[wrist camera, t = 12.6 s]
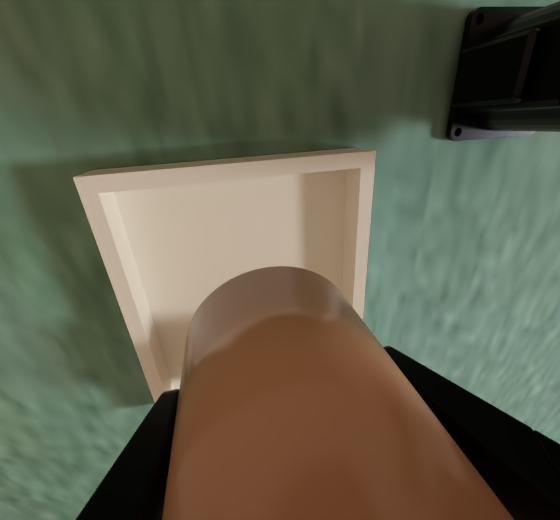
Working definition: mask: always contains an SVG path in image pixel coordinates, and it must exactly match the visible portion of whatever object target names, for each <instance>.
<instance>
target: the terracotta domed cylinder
mask: <svg viewBox="0 0 560 520" xmlns="http://www.w3.org/2000/svg"><path fill="white" fill-rule="evenodd" d="M162 520H514V519H513V517H512V516H511V515H510V513H509V512H508V511H507V509H506V508H505V507H504V505H503V504H502V503H501V501H500V500H499V499H498V498H497V496H496V495H495V494H494V492H493V491H492V490H491V488H490V487H489V486H488V484H487V483H486V482H485V480H484V479H483V478H482V477H481V475H480V474H479V473H478V471H477V470H476V469H475V467H474V466H473V465H472V463H471V462H470V461H469V459H468V458H467V457H466V456H465V454H464V453H463V452H462V450H461V449H460V448H459V446H458V445H457V444H456V442H455V441H454V440H453V438H452V437H451V436H450V434H449V433H448V432H447V431H446V429H445V428H444V427H443V425H442V424H441V423H440V421H439V420H438V419H437V417H436V416H435V415H434V413H433V412H432V411H431V410H430V408H429V407H428V406H427V404H426V403H425V402H424V400H423V399H422V398H421V396H420V395H419V394H418V392H417V391H416V390H415V389H414V387H413V386H412V385H411V383H410V382H409V381H408V379H407V378H406V377H405V375H404V374H403V373H402V371H401V370H400V369H399V367H398V366H397V365H396V364H395V362H394V361H393V360H392V358H391V357H390V356H389V354H388V353H387V352H386V350H385V349H384V348H383V346H382V345H381V344H380V343H379V341H378V340H377V339H376V337H375V336H374V335H373V333H372V332H371V331H370V329H369V328H368V327H367V325H366V324H365V323H364V322H363V320H362V319H361V318H360V316H359V315H358V314H357V312H356V311H355V310H354V308H353V307H352V306H351V304H350V303H349V302H348V300H347V299H346V298H345V297H344V295H343V294H342V293H341V291H340V290H339V289H338V288H337V287H336V286H335V285H334V284H333V283H332V282H331V281H329V280H328V279H326V278H325V277H323V276H321V275H319V274H317V273H315V272H313V271H309V270H306V269H303V268H297V267H291V266H274V267H265V268H260V269H255V270H252V271H249V272H246V273H243V274H241V275H238V276H236V277H234V278H232V279H230V280H229V281H227V282H225V283H224V284H222V285H220V286H219V287H218V288H217V289H215V290H214V291H213V292H212V293H211V294H210V295H209V296H208V297H207V298H206V299H205V300H204V301H203V302H202V303H201V305H200V306H199V307H198V309H197V310H196V312H195V314H194V316H193V318H192V319H191V322H190V325H189V328H188V331H187V337H186V344H185V351H184V359H183V366H182V374H181V381H180V389H179V396H178V403H177V411H176V418H175V426H174V433H173V441H172V448H171V455H170V463H169V470H168V478H167V485H166V493H165V500H164V507H163V515H162Z"/></svg>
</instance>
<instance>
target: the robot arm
mask: <svg viewBox="0 0 560 520" xmlns="http://www.w3.org/2000/svg"><path fill="white" fill-rule="evenodd" d="M476 16H477V18H478V22H477V24H476V22H475V19H476ZM456 129H457V133H456V135H454V132H455V130H456ZM536 131H555V132H560V1H559V2H557V3H554V4H551V5H548V6H546V7H480V8H477V9H475V10H473V11H471V12H470V13H469V15H468V16H467V18H466V22H465V28H464V33H463V39H462V45H461V51H460V56H459V62H458V68H457V74H456V79H455V85H454V91H453V97H452V102H451V108H450V114H449V120H448V125H447V131H446V137H447V139H448V140H451V141H461V140H472V139H484V138H496V137H507V136H519V135H531V134H533V133H535V132H536ZM383 348H384V349H385V350H386V352H387V353H388V354H389V356H390V357H391V358H392V360H393V361H394V362H395V364H396V365H397V366H398V367H399V369H400V370H401V371H402V373H403V374H404V375H405V377H406V378H407V379H408V381H409V382H410V383H411V385H412V386H413V387H414V389H415V390H416V391H417V392H418V394H419V395H420V396H421V398H422V399H423V400H424V402H425V403H426V404H427V406H428V407H429V408H430V410H431V411H432V412H433V413H434V415H435V416H436V417H437V419H438V420H439V421H440V423H441V424H442V425H443V427H444V428H445V429H446V431H447V432H448V433H449V434H450V436H451V437H452V438H453V440H454V441H455V442H456V444H457V445H458V446H459V448H460V449H461V450H462V452H463V453H464V454H465V456H466V457H467V458H468V459H469V461H470V462H471V463H472V465H473V466H474V467H475V469H476V470H477V471H478V473H479V474H480V475H481V477H482V478H483V479H484V480H485V482H486V483H487V484H488V486H489V487H490V488H491V490H492V491H493V492H494V494H495V495H496V496H497V498H498V499H499V500H500V501H501V503H502V504H503V505H504V507H505V508H506V509H507V511H508V512H509V513H510V515H511V516H512V517H513V519H514V520H560V444H559V443H557V442H555V441H553V440H552V439H550V438H548V437H546V436H545V435H543V434H541V433H540V432H538V431H536V430H534V431H533V430H532V428H531V427H529V426H527V425H526V424H524V423H522V422H520V421H519V420H517V419H515V418H513V417H512V416H510V415H508V414H507V413H505V412H503V411H501V410H500V409H498V408H496V407H494V406H493V405H491V404H489V403H488V402H486V401H484V400H482V399H481V398H479V397H477V396H475V395H474V394H472V393H470V392H469V391H467V390H465V389H463V388H462V387H460V386H458V385H456V384H455V383H453V382H451V381H450V380H448V379H446V378H444V377H443V376H441V375H439V374H437V373H436V372H434V371H432V370H431V369H429V368H427V367H425V366H424V365H422V364H420V363H418V362H417V361H415V360H413V359H412V358H410V357H408V356H406V355H405V354H403V353H401V352H399V351H398V350H396V349H394V348H392V347H390V346H385V347H383ZM178 396H179V389H174V390H169V391H165V392H163V393H162V394H161V395H160V397H159V398H158V399H157V401H156V402H155V404H154V405H153V407H152V408H151V410H150V411H149V413H148V414H147V416H146V417H145V419H144V420H143V422H142V423H141V424H140V426H139V427H138V429H137V430H136V432H135V433H134V435H133V436H132V438H131V439H130V441H129V442H128V444H127V445H126V446H125V448H124V449H123V451H122V452H121V454H120V455H119V457H118V458H117V460H116V461H115V463H114V464H113V466H112V467H111V469H110V470H109V471H108V473H107V474H106V476H105V477H104V479H103V480H102V482H101V483H100V485H99V486H98V488H97V489H96V491H95V492H94V493H93V495H92V496H91V498H90V499H89V501H88V502H87V504H86V505H85V507H84V508H83V510H82V511H81V513H80V514H79V516H78V517H77V518H76V520H162V515H163V507H164V500H165V493H166V485H167V478H168V470H169V463H170V455H171V448H172V441H173V433H174V426H175V418H176V411H177V403H178Z"/></svg>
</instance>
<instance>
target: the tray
mask: <svg viewBox="0 0 560 520" xmlns="http://www.w3.org/2000/svg"><path fill="white" fill-rule="evenodd" d="M375 158H376V151H375V150H368V149H361V148H345V149H333V150H321V151H310V152H298V153H286V154H274V155H263V156H251V157H239V158H227V159H215V160H204V161H192V162H180V163H168V164H156V165H145V166H133V167H121V168H109V169H97V170H92V171H89V172H86V173H83V174H81V175H78V176H75V177H73V179H74V182H75V185H76V188H77V190H78V193H79V196H80V199H81V201H82V204H83V207H84V210H85V212H86V215H87V218H88V221H89V223H90V226H91V229H92V232H93V234H94V237H95V240H96V243H97V245H98V248H99V251H100V254H101V256H102V259H103V262H104V265H105V267H106V270H107V273H108V276H109V278H110V281H111V284H112V287H113V289H114V292H115V295H116V298H117V301H118V303H119V306H120V309H121V312H122V314H123V317H124V320H125V323H126V325H127V328H128V331H129V334H130V336H131V339H132V342H133V345H134V347H135V350H136V353H137V356H138V358H139V361H140V364H141V367H142V369H143V372H144V375H145V378H146V380H147V383H148V386H149V389H150V391H151V394H152V397H153V400H154V403H155V402H156V401H157V399H158V398H159V397H160V395H161V394H162V393H163V392H165V391H169V390H174V389H180V381H181V374H182V366H183V359H184V351H185V344H186V337H187V331H188V328H189V325H190V322H191V319H192V318H193V316H194V314H195V312H196V310H197V309H198V307H199V306H200V305H201V303H202V302H203V301H204V300H205V299H206V298H207V297H208V296H209V295H210V294H211V293H212V292H213V291H214V290H215V289H217V288H218V287H219V286H220V285H222V284H224V283H225V282H227V281H229V280H230V279H232V278H234V277H236V276H238V275H241V274H243V273H246V272H249V271H252V270H255V269H260V268H265V267H274V266H291V267H297V268H303V269H306V270H309V271H313V272H315V273H317V274H319V275H321V276H323V277H325V278H326V279H328V280H329V281H331V282H332V283H333V284H334V285H335V286H336V287H337V288H338V289H339V290H340V291H341V293H342V294H343V295H344V297H345V298H346V299H347V300H348V302H349V303H350V304H351V306H352V307H353V308H354V310H355V311H356V312H357V314H358V315H359V316H360V318H361V319H362V320H363V310H364V297H365V284H366V272H367V259H368V246H369V234H370V221H371V208H372V196H373V183H374V170H375Z"/></svg>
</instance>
